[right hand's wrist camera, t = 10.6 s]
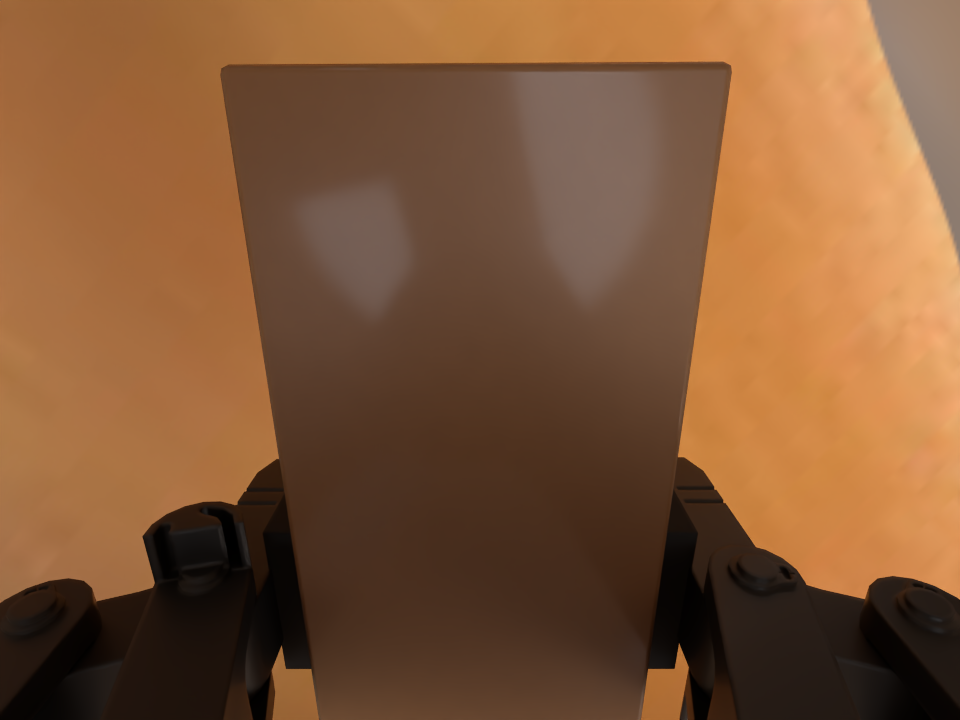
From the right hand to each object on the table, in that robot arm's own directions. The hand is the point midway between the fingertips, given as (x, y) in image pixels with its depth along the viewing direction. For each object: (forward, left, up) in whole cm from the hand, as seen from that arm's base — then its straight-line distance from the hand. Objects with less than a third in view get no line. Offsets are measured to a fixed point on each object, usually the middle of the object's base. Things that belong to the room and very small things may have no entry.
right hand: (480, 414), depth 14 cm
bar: (+15, +11, -1) cm, 19 cm away
